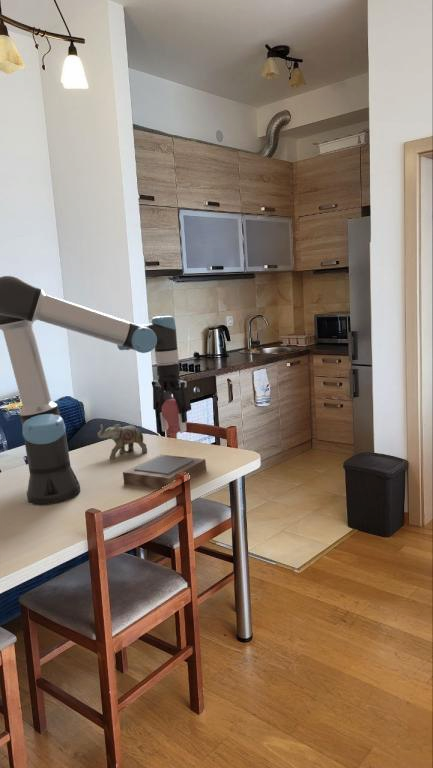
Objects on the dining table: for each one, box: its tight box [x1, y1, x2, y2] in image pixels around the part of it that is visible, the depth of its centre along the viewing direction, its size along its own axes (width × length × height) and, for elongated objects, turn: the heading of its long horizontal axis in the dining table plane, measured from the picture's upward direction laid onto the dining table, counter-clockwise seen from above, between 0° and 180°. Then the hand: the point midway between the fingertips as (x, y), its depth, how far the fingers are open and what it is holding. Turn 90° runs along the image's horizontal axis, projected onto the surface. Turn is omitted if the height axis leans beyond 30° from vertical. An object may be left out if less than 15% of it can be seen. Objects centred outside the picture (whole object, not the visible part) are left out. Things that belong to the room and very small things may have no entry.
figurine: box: [97, 423, 148, 460], centre depth 205 cm, size 10×14×15 cm, turn 87°
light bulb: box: [162, 398, 180, 435], centre depth 192 cm, size 7×7×12 cm
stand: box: [122, 454, 207, 490], centre depth 176 cm, size 18×18×4 cm
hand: (174, 431), depth 193 cm, fingers closed on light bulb, 7 cm apart
